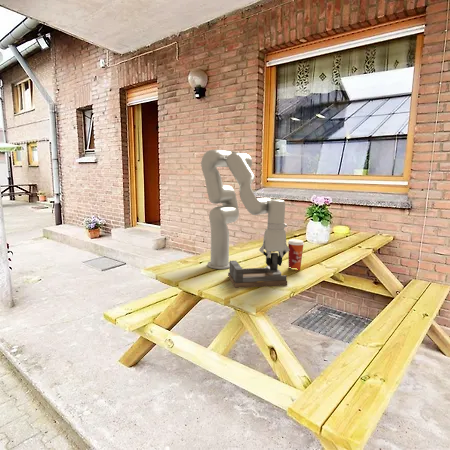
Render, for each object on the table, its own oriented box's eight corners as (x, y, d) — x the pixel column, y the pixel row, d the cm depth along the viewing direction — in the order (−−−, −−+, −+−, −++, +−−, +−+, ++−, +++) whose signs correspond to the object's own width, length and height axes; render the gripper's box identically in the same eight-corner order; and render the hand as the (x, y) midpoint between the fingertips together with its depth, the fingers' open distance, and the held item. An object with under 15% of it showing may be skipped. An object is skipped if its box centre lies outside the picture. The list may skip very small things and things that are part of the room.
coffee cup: (294, 272, 169) (296, 243, 166) (283, 267, 175) (284, 240, 172) (306, 269, 173) (307, 241, 171) (294, 265, 180) (295, 238, 177)
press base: (228, 276, 160) (228, 260, 158) (275, 274, 165) (276, 258, 163) (235, 287, 145) (235, 270, 144) (287, 285, 150) (288, 268, 149)
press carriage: (265, 272, 161) (266, 250, 159) (273, 271, 161) (274, 250, 159) (272, 279, 151) (273, 256, 149) (281, 278, 152) (282, 256, 150)
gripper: (290, 224, 157) (287, 262, 161) (255, 225, 154) (254, 263, 157) (296, 227, 150) (294, 266, 153) (260, 228, 147) (258, 268, 150)
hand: (273, 264), depth 155 cm, fingers open, 4 cm apart
